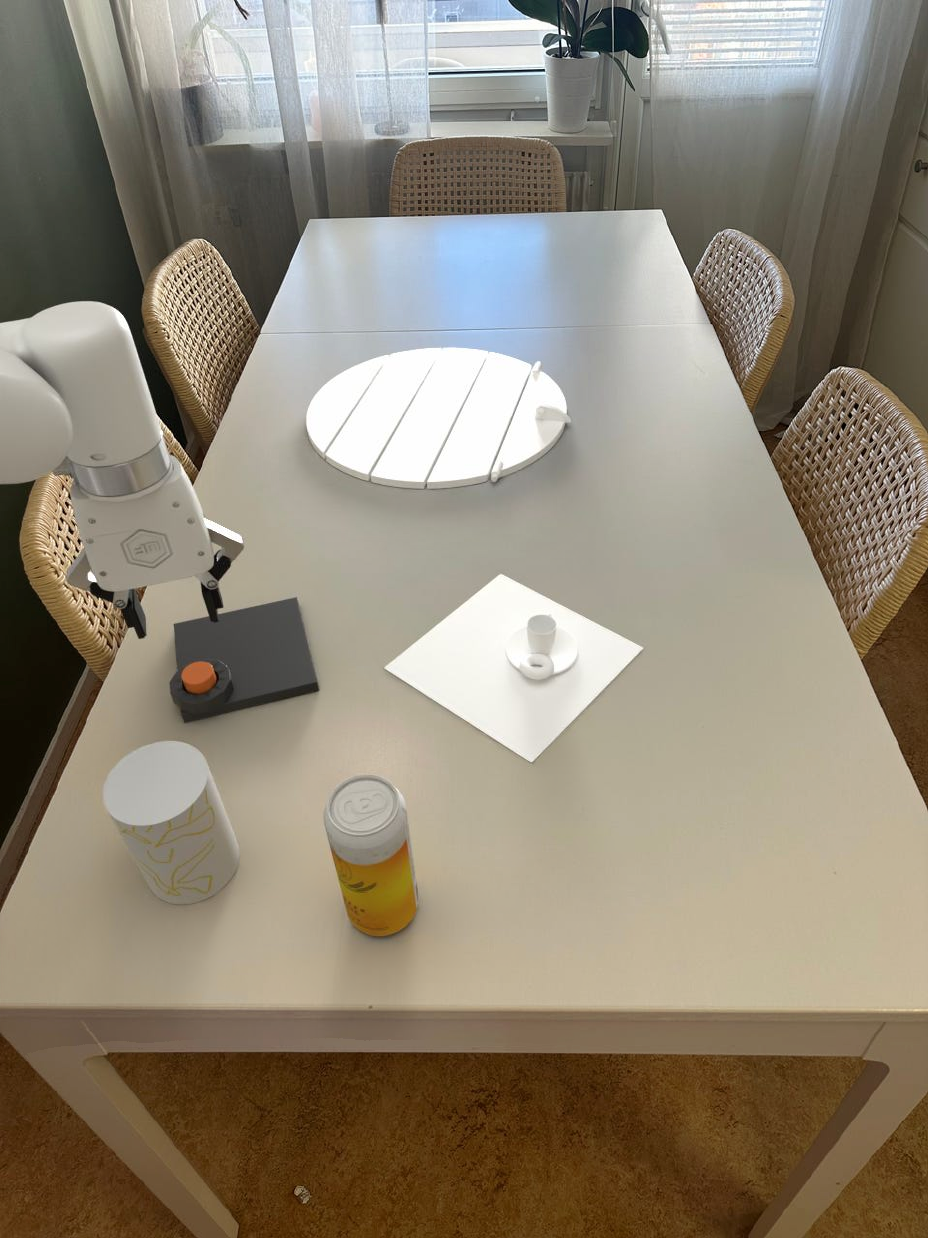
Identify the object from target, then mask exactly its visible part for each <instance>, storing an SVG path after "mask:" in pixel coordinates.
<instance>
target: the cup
mask: <svg viewBox="0 0 928 1238" xmlns="http://www.w3.org/2000/svg"><path fill="white" fill-rule="evenodd" d="M102 801H103V805H104V807H105V809H106V811H107V813H108V815H109V816H110V819H111V820H112V822H113V824H114V825H115V828H116V829H117V831H118V833H119V835H120V836H121V838H122V840H123V842H124V844H125V846H126V848H127V849H128V851H129V853H130V855H131V856H132V859H133V860H134V863H136V865H137V867H138V869H139V871H140V873H141V875H142V876H143V879H144V880H145V882H146V883H147V885H148V887H149V889H150V891H151V892H152V893H153V895H155V896H156V897H157V898H158V899H159V900H161V901H163V902H165V903H168V904H172V905H180V906H181V905H183V906H186V905H193V904H197V903H200V902H203V901H206V900H208V899H209V898H211V897H213V896H215V895H216V894H218V893H219V892H220V891H221V890H223V889H224V888H225V887H226V886H227V885H228V883H230V882H231V880H232V878H233V877H234V875H235V874H236V871H237V869H238V866H239V863H240V858H241V857H240V856H241V851H240V845H239V842H238V840H237V837H236V834H235V832H234V829H233V827H232V824H231V822H230V818H229V816H228V813H227V811H226V809H225V805H224V803H223V800H222V798H221V796H220V793H219V791H218V788H217V785H216V783H215V780H214V777H213V775H212V773H211V770H210V768H209V765H208V761H207V759H206V758H205V756H204V755H203V753H202V752H201V751H200V750H199V749H198V748H197V747H195V746H193V745H191V744H189V743H187V742H183V741H178V740H161V741H156V742H151V743H149V744H146V745H142V746H141V747H138V748H137V749H135V750H133V751H131V752H129V753H128V754H126V755H125V756H124V757H122V758H121V759H120V760H119V761H118V762H117V763H116V765H114V767H113V768H112V769H111V770H110V772H109V774H108V775H107V777H106V780H105V782H104V785H103V789H102Z"/></svg>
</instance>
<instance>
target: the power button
mask: <svg viewBox="0 0 928 1238" xmlns="http://www.w3.org/2000/svg"><path fill="white" fill-rule="evenodd" d="M181 677H182V680H183V683H184V686H185V688H186V690H187V691H188V692H190V693H192V694H202V693H205V692H208V691H209V690H211V689H212V688H213V687H214V686H215V684H216V675H215V672H214V669H213V667H212V665H210V664H209V663H207V662H195V663H192V664H190V665H188V666H187V667H186V668H185V669H184V670H183V672H182V675H181Z"/></svg>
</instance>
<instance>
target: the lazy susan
mask: <svg viewBox="0 0 928 1238" xmlns="http://www.w3.org/2000/svg"><path fill="white" fill-rule="evenodd" d="M542 367H543V363H542V362H541V361H537V362H535V364H534V365H533V367H532V365H531V364H530V363H528V362H525V361H523V360H520V359H518V358H515V357H512V356H509V355H505V354H502V353H498V352H493V351H490V352H489V351H488V350H482V349H473V348H465V347H443V348H442V347H429V348H428V347H427V348H417V349H412V350H404V351H398V352H394V353H391V354H390V355H389V354H385V355H381V356H378V357H375V358H371V359H369V360H366V361H363V362H361V363H359V364H356V365H353V366H352V367H350V368H348V369H345V370H344V371H342V372H341V373H339V374H337V375H336V376H334V377H333V378H331V379H330V380H329V381H328V382H326V383H325V384H323V386H322V387H321V388H320V389H319V390H318V391H317V392H316V394H315V395H314V396H313V398H312V399H311V401H310V403H309V405H308V408H307V411H306V415H305V426H306V430H307V437H308V439H309V442H310V444H311V445H312V447H313V449H314V450H315V452H316V453H317V454H318V455H319V456H320V458H322V459H323V460H325V461H326V462H327V464H329V465H331V466H333V467H334V468H336V469H337V470H339V471H341V472H343V473H345V474H347V475H349V476H351V477H355V478H357V479H359V480H362V481H366V482H369V481H370V482H371V483H374V484H377V485H383V486H387V487H394V488H401V489H404V488H405V489H416V490H417V489H418V490H425V488H426V489H427V490H436V489H437V490H438V489H439V490H440V489H451V488H453V489H454V488H460V487H467V486H472V485H477V484H481V483H486V482H488V481H489V478H490V481H491V482H492V483H496V482H497V481H498V479H499V478H502V477H505V476H508V475H511V474H513V473H516V472H518V471H520V470H522V469H524V468H526V467H528V466H530V465H531V464H533V463H535V462H536V461H538V460H539V459H540V458H541V457H543V456H544V455H546V453H548V452H549V451H550V450H551V449H552V448H553V447H554V446H555V445H556V444H557V442H558V441H559V439H560V438H561V436H562V434H563V433H564V430H565V426H566V424H571V422H572V419H571V417H570V416H569V415H568V413H567V402H566V398H565V396H564V393H563V391H562V390H561V388H560V387H559V385H558V384H557V383H556V382H555V380H553V379H552V378H551V377H550V376H549V375H547V374H546V373H545V372H543V371H542Z"/></svg>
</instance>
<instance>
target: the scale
mask: <svg viewBox="0 0 928 1238" xmlns="http://www.w3.org/2000/svg"><path fill="white" fill-rule="evenodd" d="M300 607H301V606H300V603H299V599H298V596H295V597H289V598H287V599H286V598H285V599H281V600H277V601H273V602H267V603H263V604H258V605H254V606H249V607H245V608H239V609H236V610H230V611H227V612H222V613H218V618H219V622H215V623H213V622H211V620H210V617H209V615H208V616H204V617H198V618H194V619H189V620H185V621H181V622H176V623H174V624H173V632H174V646H175V647H174V648H175V658H176V659H175V660H176V671H175V673H174V675H173V676H172V678H171V679H170V680H169V694H170V696H171V699H172V702H173V703H174V705H176V706H177V708H179V710H180V716H181V718H182V721H183V723H184V724H186V723H190V722H194V721H198V720H202V719H207V718H211V717H215V716H219V715H224V714H227V713H233V712H237V711H240V710H243V709H248V708H253V707H257V706H261V705H266V704H270V703H273V702H278V701H282V700H285V699H291V698H294V697H298V696H303V695H307V694H311V693H315V692H319V691H320V687H319V682H318V678H317V674H316V670H315V665H314V662H313V657H312V653H311V648H310V645H309V641H308V636H307V632H306V628H305V624H304V620H303V616H302V612H301V608H300ZM195 662H207V663H209V664H210V665H212V667H213V669H214V672H215V675H216V684H215V686H214V687H213V688H212V689H211V690H209V691H208V692H205V693H202V694H192V693H190V692H188V691H187V690H186V688H185V686H184V683H183V680H182V677H181V675H182V672H183V670H184V669H185V668H186V667H187V666H188V665H190V664H192V663H195Z"/></svg>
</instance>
